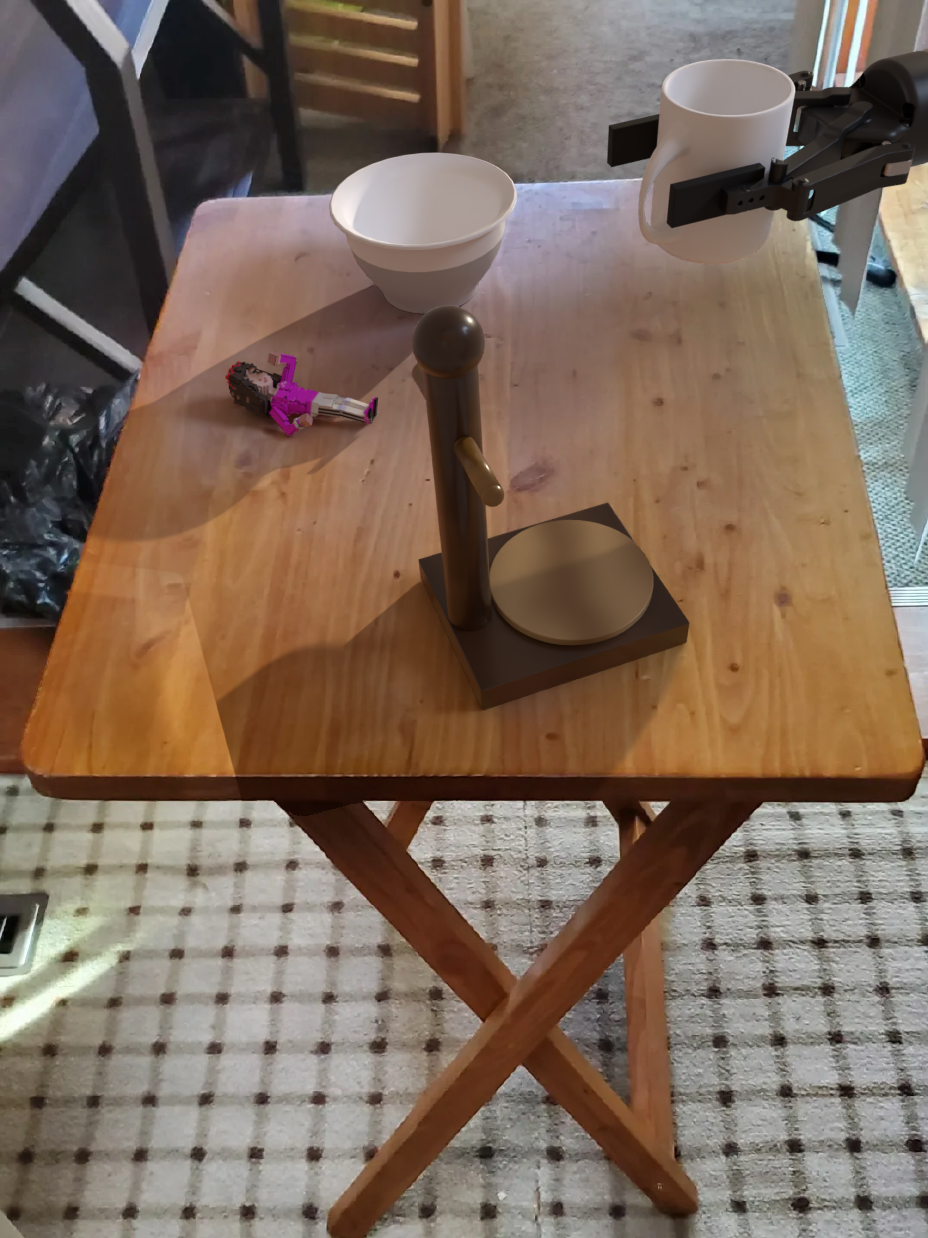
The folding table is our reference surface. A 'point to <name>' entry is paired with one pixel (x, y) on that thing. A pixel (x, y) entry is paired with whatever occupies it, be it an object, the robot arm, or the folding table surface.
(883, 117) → the robot arm
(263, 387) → the character figurine
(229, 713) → the folding table surface
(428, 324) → the mug stand
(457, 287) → the bowl
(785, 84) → the mug
